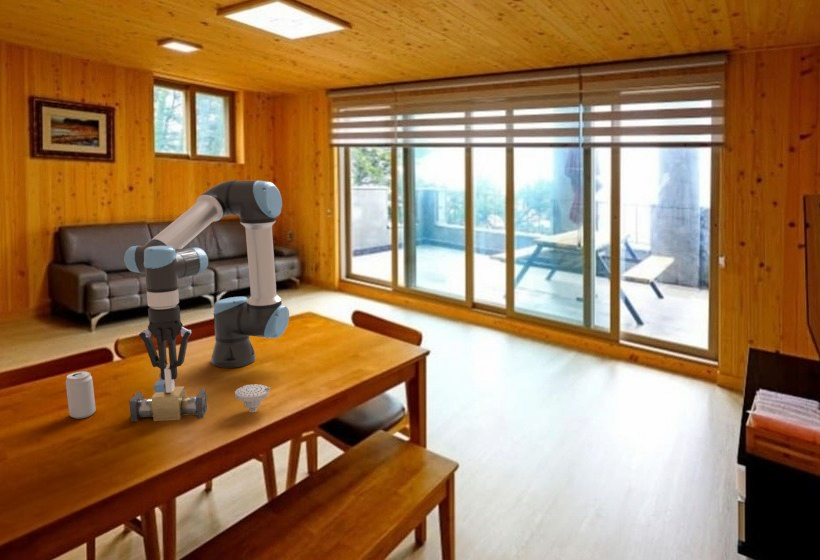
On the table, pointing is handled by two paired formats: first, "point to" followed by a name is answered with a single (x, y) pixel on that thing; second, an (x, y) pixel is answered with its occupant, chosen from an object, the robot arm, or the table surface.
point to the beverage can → (80, 395)
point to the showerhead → (252, 395)
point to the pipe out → (140, 407)
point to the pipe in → (194, 404)
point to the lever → (160, 385)
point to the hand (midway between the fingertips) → (170, 390)
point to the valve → (168, 404)
